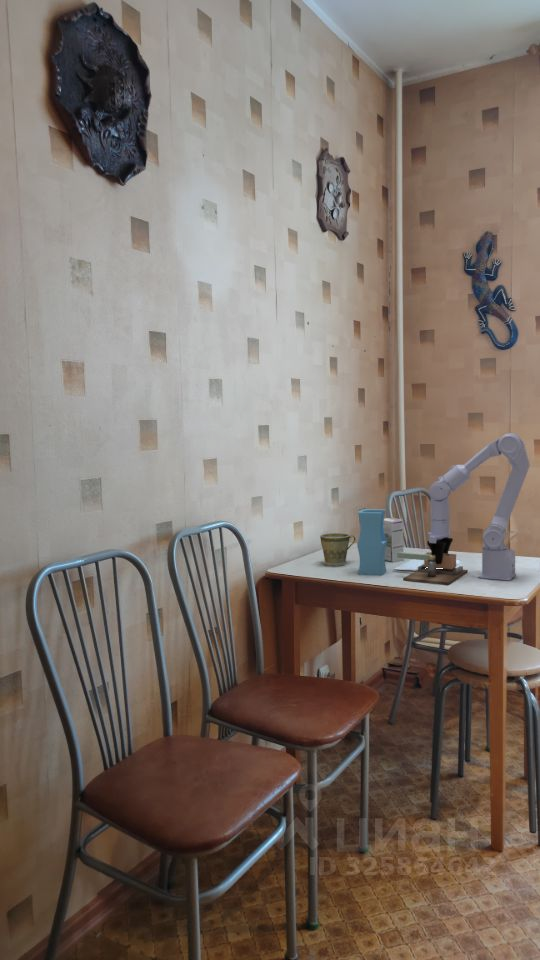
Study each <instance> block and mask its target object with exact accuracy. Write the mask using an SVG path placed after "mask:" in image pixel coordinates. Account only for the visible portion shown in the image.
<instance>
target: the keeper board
mask: <svg viewBox="0 0 540 960" xmlns="http://www.w3.org/2000/svg"><path fill="white" fill-rule="evenodd" d="M425 568H426V567H424V563H422V564H421V565H419V566H417V570H416V571H414V572H412V573H410V574H408V575H406V576H404V577H403V578H402V580H403V581H404V582H412V583H423V584H424V583H425V584H433V585H444V586H449V585H451V584H452V583H454V582H456V581H457V580H458V579H460V578H462V577H463V576H465V575H466V574H468V572H469V571H468V569H464V566H463V565H462V566H461V565H459V566H458V567H455V568H454V569H436V561H428V568H426V569H425Z"/></svg>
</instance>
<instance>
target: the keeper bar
mask: <svg viewBox="0 0 540 960" xmlns="http://www.w3.org/2000/svg"><path fill="white" fill-rule="evenodd" d="M397 558H404V559H406V560H417V561H424V560H428V561H435V555H427V554H426V553H414V552H413V553H412V552H404V551H403V552H398V553H397Z"/></svg>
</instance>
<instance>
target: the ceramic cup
mask: <svg viewBox="0 0 540 960" xmlns="http://www.w3.org/2000/svg"><path fill="white" fill-rule="evenodd" d="M319 537H320V543H321V547H322V553H323V556H324V562H325V565H326V566H328V567H329V566H330V567H340V566H344V565H346V563H347V555H348V550H350V548H351V546H352V545H354V544H355V542H356V536H355V535H353V534H348V533H343V532H341V533H340V532H329V533H328V532H327V533H322V534H320V535H319ZM351 538H353V542H352V543H351V544H350V539H351Z"/></svg>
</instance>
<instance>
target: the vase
mask: <svg viewBox="0 0 540 960" xmlns="http://www.w3.org/2000/svg"><path fill="white" fill-rule="evenodd" d="M386 512H387V509H376V508H375V509H371V508H370V509H369V508H368V509H367V508H364V509H360V510H359V511H358V512H357V514H358V519H359V527H360V529H359V536H358V540H357V547H356V548H357V550H358V555H359V566H358V567H359V568H358V572H357V575H359V576H361V575H363V576H379V577H380V576H384V575H385V573H386V572H387V567H386V561H385V550H386V545H387V540H386V537H385V534H384V528H383V523H384V519H385V515H386Z"/></svg>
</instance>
